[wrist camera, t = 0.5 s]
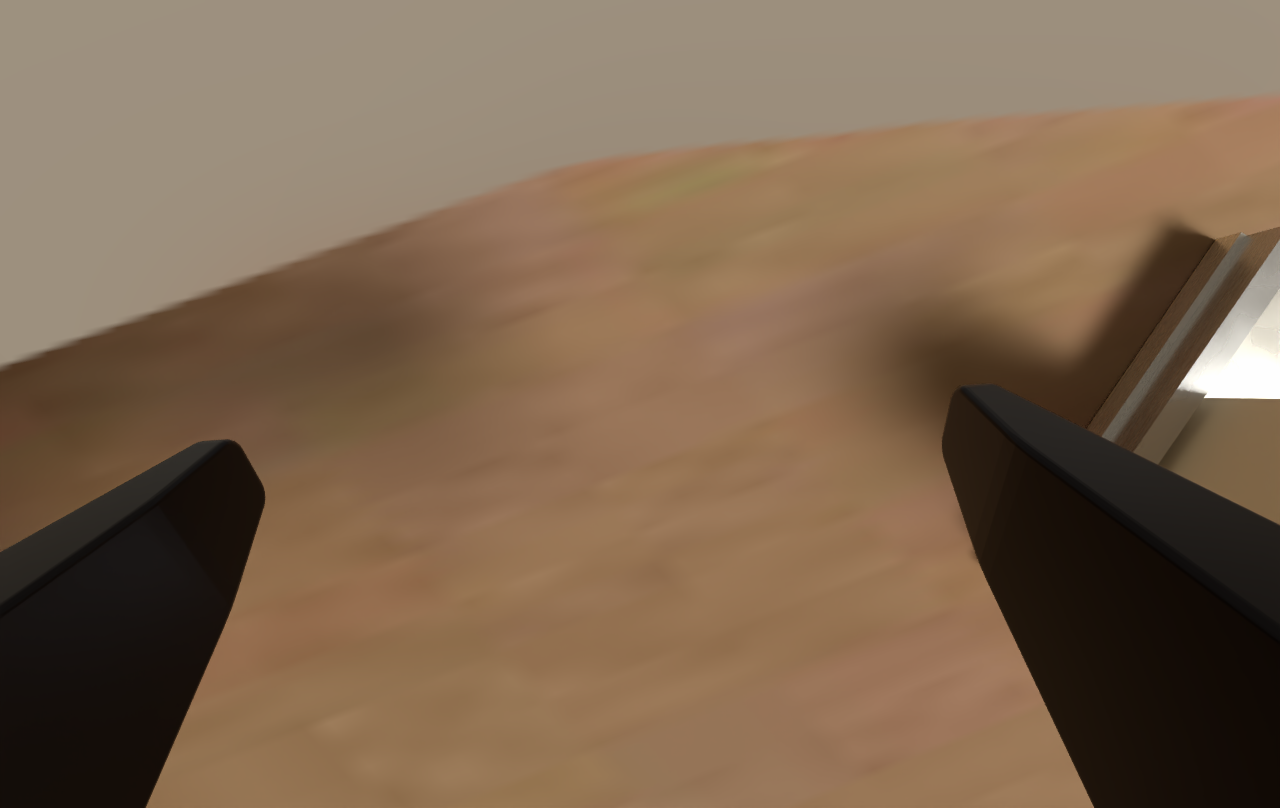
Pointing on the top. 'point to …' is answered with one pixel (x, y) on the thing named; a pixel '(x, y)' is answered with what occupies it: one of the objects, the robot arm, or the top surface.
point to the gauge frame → (1203, 347)
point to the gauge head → (1233, 452)
